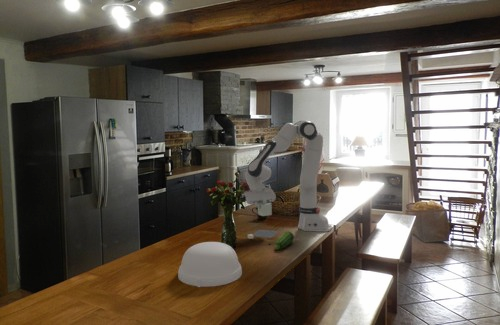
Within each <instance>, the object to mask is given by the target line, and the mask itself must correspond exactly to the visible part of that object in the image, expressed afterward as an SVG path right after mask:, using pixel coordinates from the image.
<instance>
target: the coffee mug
mask: <svg viewBox="0 0 500 325" xmlns="http://www.w3.org/2000/svg"><path fill="white" fill-rule="evenodd" d="M254 209H255V210H256V212H255V211H254ZM251 211H252V213H253V214H254V215H257V219H258V220H260V221H261V220H262V221H263V220H267V219H268V216H261V215H258V207H257V206H256V207H253V208H252V209H251Z"/></svg>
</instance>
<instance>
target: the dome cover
mask: <svg viewBox="0 0 500 325" xmlns="http://www.w3.org/2000/svg"><path fill="white" fill-rule="evenodd" d="M180 264H181V265H180V266H179V267H178V271H177V276H178V277H177V278H178V280H179V281H181V282H182V283H183V284H186V285H188V286H194V287H197V288H201V287H203V288H204V287H206V288H207V287H216V286H222V285H228V284H230V283H233V282H235V281H236V280H239V279H240V278H241V276H242V274H243V269H242V265H241V263H240V262H239V258H238V254H237V253H236V250H234V248H233V247H232V246H230V245H229V244H227V243H223V242H219V241H205V242H204V241H203V242H200V243H196V244H194V245H192V246H190V247H189V248H188V249H187V250H186V251H185V252H184V254H183V256H182V259H181V263H180Z"/></svg>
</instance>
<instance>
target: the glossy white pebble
mask: <svg viewBox="0 0 500 325" xmlns="http://www.w3.org/2000/svg"><path fill="white" fill-rule="evenodd" d="M247 239H249V240H250V239H251V240H252V239H254V236H253V233H250V234H249V233H248V234H247Z"/></svg>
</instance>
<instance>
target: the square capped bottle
mask: <svg viewBox="0 0 500 325" xmlns="http://www.w3.org/2000/svg"><path fill="white" fill-rule="evenodd" d="M257 204H259V205H260V206H261V208H260V209H258V215H261V216H267V217H269V216H273V215H272V214H273V213H272V212H273V211H272V209H273V208H272V207H273V206H272V203H271V204H270V203H268V202H266V200H265V199H264V200H263V203H257ZM258 215H257V216H258Z"/></svg>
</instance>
